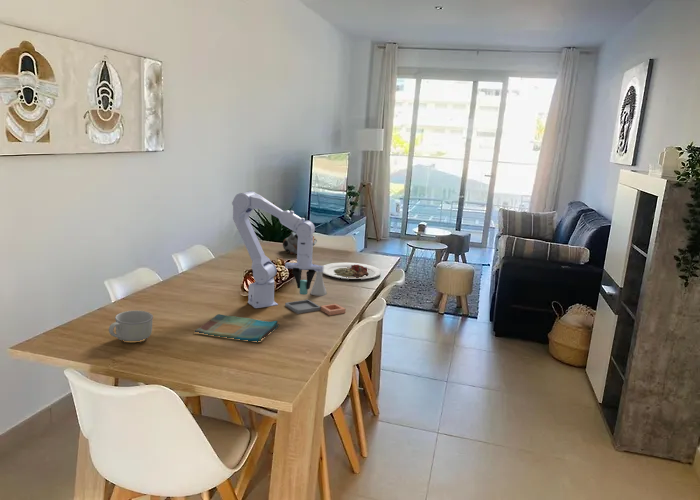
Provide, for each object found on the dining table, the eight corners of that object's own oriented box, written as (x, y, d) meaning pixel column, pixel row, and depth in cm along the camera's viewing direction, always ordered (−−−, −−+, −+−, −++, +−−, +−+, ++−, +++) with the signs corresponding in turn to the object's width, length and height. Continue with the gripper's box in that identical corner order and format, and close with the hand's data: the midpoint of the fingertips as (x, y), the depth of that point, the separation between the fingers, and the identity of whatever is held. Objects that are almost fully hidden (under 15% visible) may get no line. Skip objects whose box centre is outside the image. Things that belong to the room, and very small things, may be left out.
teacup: (142, 330, 169) (141, 307, 167) (160, 340, 162) (159, 316, 160) (99, 342, 158) (98, 317, 156) (116, 352, 151) (115, 327, 150)
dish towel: (261, 345, 164) (261, 338, 163) (193, 336, 168) (193, 328, 168) (279, 327, 180) (279, 320, 179) (217, 318, 185) (217, 312, 184)
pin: (301, 295, 195) (302, 282, 194) (298, 292, 197) (298, 280, 196) (308, 294, 197) (309, 281, 196) (305, 291, 199) (305, 279, 198)
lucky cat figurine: (308, 249, 301) (318, 228, 293) (309, 263, 290) (320, 241, 282) (281, 241, 295) (290, 219, 287) (281, 255, 284) (291, 233, 276)
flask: (324, 297, 214) (325, 273, 212) (308, 295, 215) (308, 272, 213) (329, 292, 221) (330, 269, 218) (312, 290, 222) (313, 268, 220)
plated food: (313, 278, 241) (313, 271, 241) (327, 263, 270) (327, 257, 270) (376, 284, 237) (377, 277, 236) (384, 269, 265) (384, 262, 265)
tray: (297, 314, 192) (297, 310, 191) (285, 306, 200) (285, 302, 199) (320, 310, 197) (320, 307, 197) (308, 303, 205) (308, 299, 205)
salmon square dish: (329, 316, 192) (329, 311, 191) (320, 310, 197) (320, 305, 197) (345, 313, 196) (345, 308, 195) (335, 307, 201) (335, 303, 201)
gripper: (326, 253, 196) (324, 287, 199) (289, 249, 199) (288, 283, 202) (321, 256, 189) (320, 292, 192) (283, 253, 192) (282, 288, 195)
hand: (303, 288), depth 197 cm, fingers closed on pin, 3 cm apart
